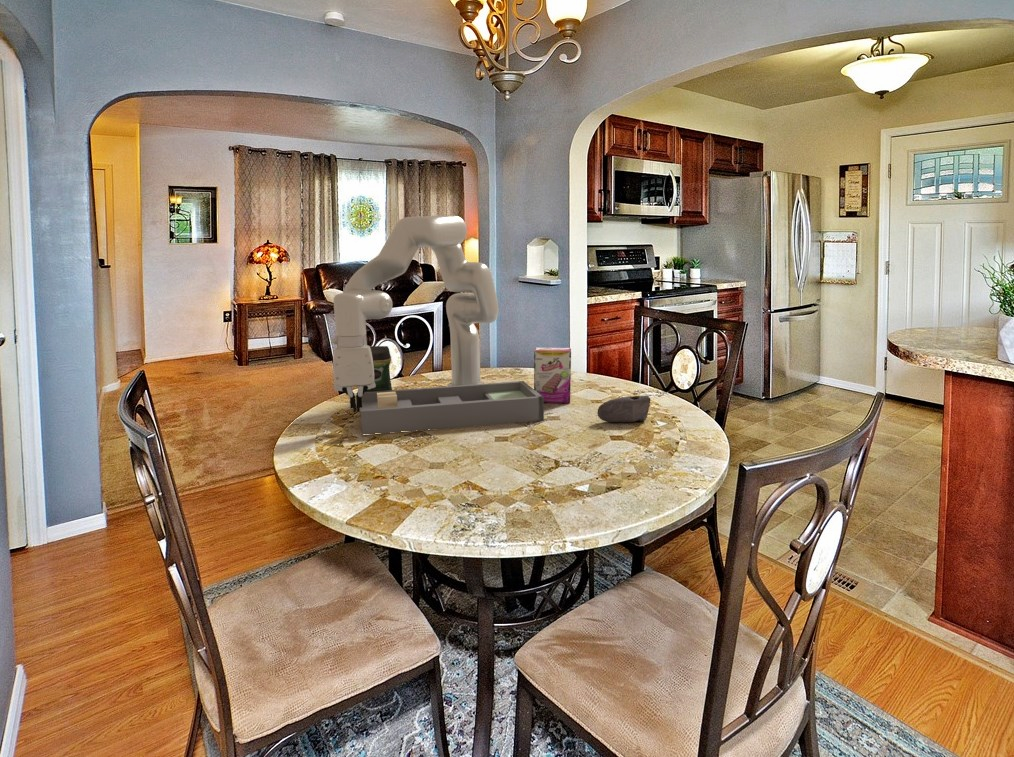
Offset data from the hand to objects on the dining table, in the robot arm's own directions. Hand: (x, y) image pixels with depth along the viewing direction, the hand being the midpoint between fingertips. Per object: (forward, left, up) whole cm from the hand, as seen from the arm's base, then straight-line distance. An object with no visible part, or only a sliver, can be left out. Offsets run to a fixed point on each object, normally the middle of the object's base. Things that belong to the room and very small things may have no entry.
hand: (356, 410), depth 163 cm
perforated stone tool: (+13, +70, -6) cm, 71 cm away
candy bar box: (-13, +58, -6) cm, 60 cm away
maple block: (0, +8, -1) cm, 8 cm away
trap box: (-5, +25, -5) cm, 26 cm away
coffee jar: (-22, +6, -6) cm, 23 cm away
